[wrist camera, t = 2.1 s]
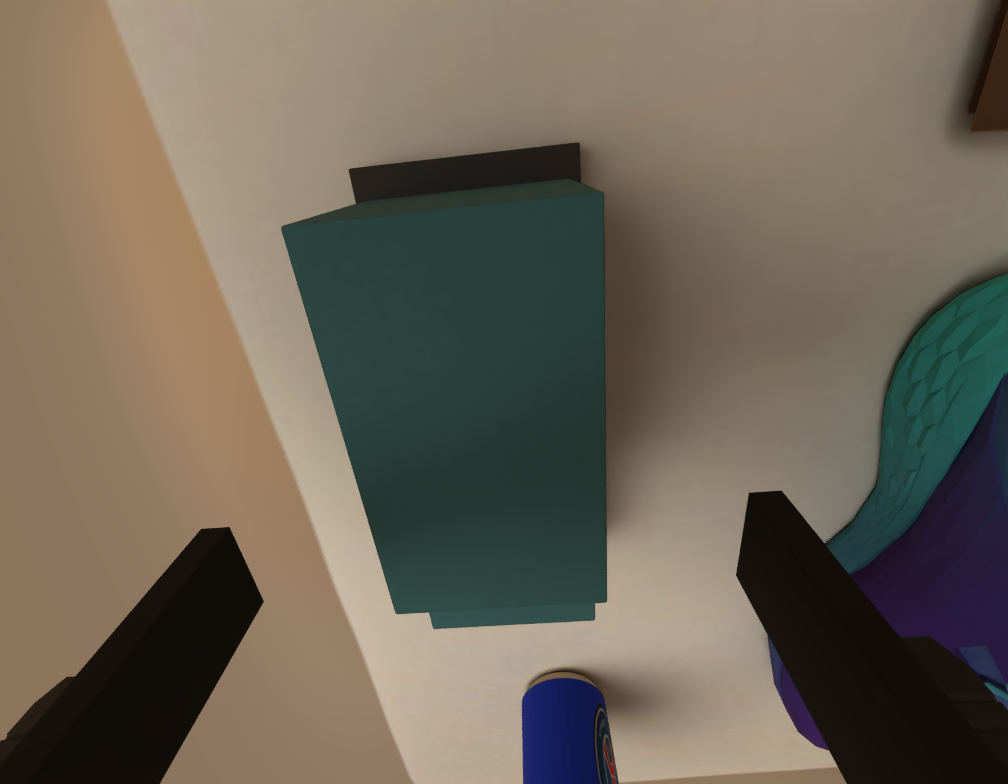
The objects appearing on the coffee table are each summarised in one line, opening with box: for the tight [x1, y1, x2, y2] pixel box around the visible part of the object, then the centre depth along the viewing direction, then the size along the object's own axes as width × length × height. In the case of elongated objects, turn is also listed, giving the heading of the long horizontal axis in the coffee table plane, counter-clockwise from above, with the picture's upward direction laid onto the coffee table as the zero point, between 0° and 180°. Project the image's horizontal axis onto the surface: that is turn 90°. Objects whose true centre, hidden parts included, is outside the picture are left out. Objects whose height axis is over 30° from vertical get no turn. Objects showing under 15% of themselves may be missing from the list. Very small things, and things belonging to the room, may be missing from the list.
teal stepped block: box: [281, 142, 607, 629], centre depth 17 cm, size 18×8×8 cm, turn 6°
